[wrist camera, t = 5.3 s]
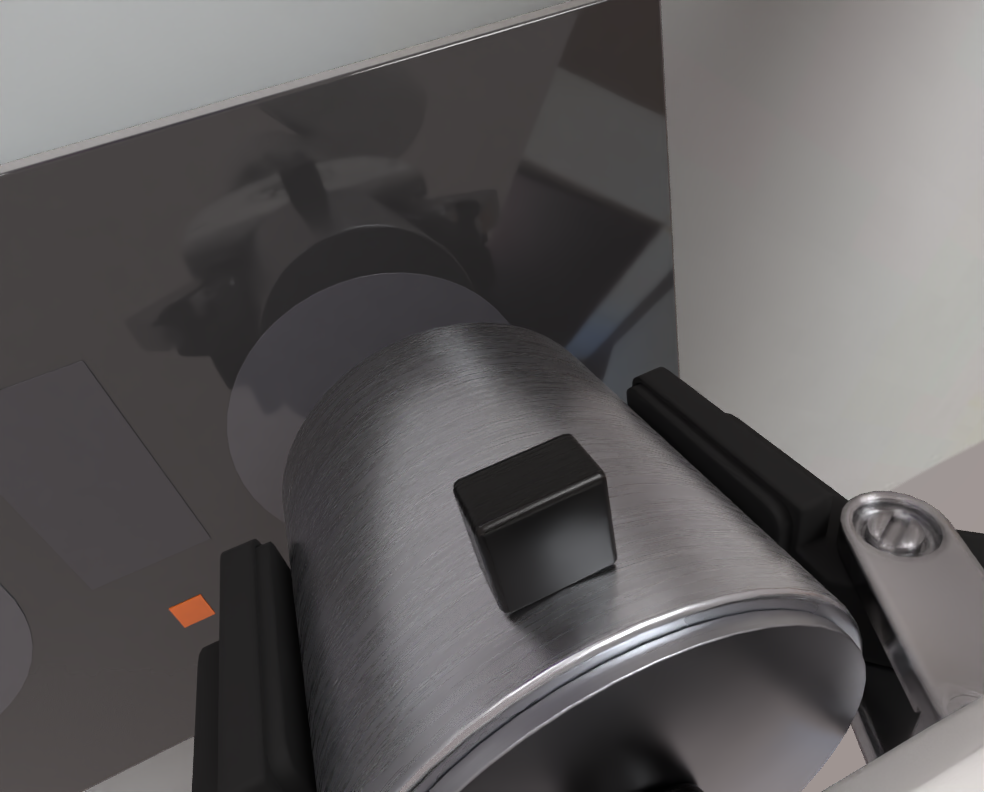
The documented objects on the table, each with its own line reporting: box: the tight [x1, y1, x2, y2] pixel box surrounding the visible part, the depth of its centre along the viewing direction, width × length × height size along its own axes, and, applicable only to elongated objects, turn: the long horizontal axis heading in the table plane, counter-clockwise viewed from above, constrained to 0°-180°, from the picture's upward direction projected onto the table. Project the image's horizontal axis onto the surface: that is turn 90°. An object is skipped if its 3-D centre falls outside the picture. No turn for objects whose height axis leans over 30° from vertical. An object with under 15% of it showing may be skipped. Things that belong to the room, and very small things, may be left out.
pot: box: [282, 322, 866, 792], centre depth 9 cm, size 7×9×7 cm
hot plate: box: [0, 0, 680, 792], centre depth 15 cm, size 30×15×2 cm, turn 102°
